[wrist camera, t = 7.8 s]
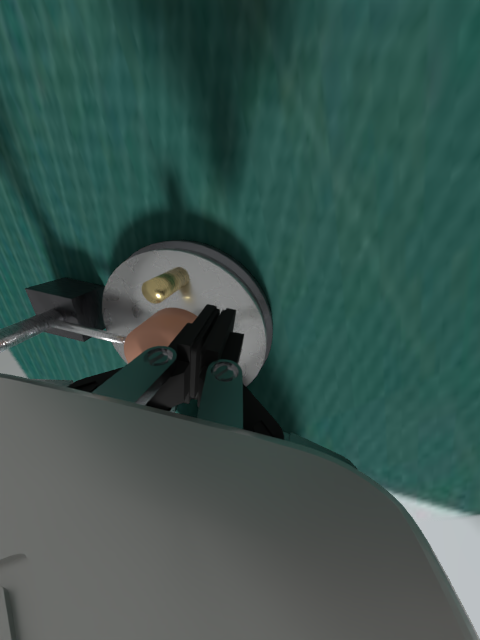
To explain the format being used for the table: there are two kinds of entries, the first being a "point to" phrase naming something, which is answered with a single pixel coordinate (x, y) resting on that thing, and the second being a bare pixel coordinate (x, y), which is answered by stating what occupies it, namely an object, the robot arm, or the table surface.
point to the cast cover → (156, 331)
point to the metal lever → (62, 313)
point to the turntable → (183, 298)
